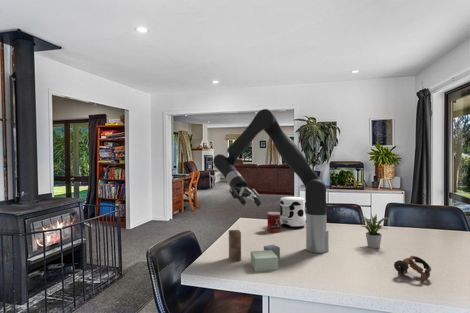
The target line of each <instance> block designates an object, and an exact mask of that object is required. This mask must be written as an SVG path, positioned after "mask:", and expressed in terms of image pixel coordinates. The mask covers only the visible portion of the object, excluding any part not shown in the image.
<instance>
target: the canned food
mask: <svg viewBox="0 0 470 313" xmlns="http://www.w3.org/2000/svg"><path fill="white" fill-rule="evenodd" d="M266 214H267V217H266V218H267V232H269V233H270V234H271V233H272V234H277V233H280V232H281V224H280V212H278V211H268V212H267V213H266Z"/></svg>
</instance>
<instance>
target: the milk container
mask: <svg viewBox="0 0 470 313" xmlns="http://www.w3.org/2000/svg"><path fill="white" fill-rule="evenodd" d="M279 207H280V208H279V210H280V212H279V213H280V226H282V227H286V228H290V229H291V228H294V229H295V228H303V227H304V226H306V202H305V197H300V196H283V197H280V204H279Z"/></svg>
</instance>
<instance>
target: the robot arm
mask: <svg viewBox="0 0 470 313" xmlns="http://www.w3.org/2000/svg"><path fill="white" fill-rule="evenodd" d="M261 131H264V132H265V133H266V134H267V136H268V137H270V139H271V141H272V143H273V145H274V147H275V149H276V151H277V152H278V154H279V156H280V157H281V158H282V160H283V162H284V163H285V165H287V166H288V167H289V168H290V169H291V171H293V172H294V173H295V174H296V175H297V176H298V178H299V179H300V180H301V182H302V184H303V186H304V187H305V189H304V193H305V194H304V199H305V215H306V224H305V226H306V227H305V228H306V229H305V232H306V233H305V236H306V240H305V242H306V243H305V244H306V245H305V246H306V247H305V248H306V251H308V252H310V253H315V254H323V253H326V252H329V242H330V241H329V240H330V239H329V230H328V229H327V186H326V185H327V184H325V183H324V181H323V180H322V179H321V178H320V177H319V176H318V175H317V174H316V172H315V171H314V170H313V169H312V168H311V166H310V164H309V163H308V160H307V159H306V157H305V155H304V154H303V153H302V151H301V150H300V148H299V147H298V145H297V144H296V143H295V142H294V140H292V139H291V138H290V136H289V134H287V133H286V132H285V131H284V130H283V128H282V127H281V125H280V123H279V122H278V120H277V118H276V115H275V114H274V113H273V111H272V110H270V109H268V108H263V109H260V110H258V112H257V114H255V116H254V118H253V119H252V120H251V122H250V123H249V125H248V126H247V127H246V128H245V130H243V131H242V133H240V135H239V136H238V137H237V138H236V139H235V140H234V142H232V143H231V144H230V145H229V146H228V148H227V149H226V150H227V151H226V152H227V154H228V157H227V156H225V155H224V154H221V153H220V154H216V155H214V158H213V159H212V160H213V165H214V167H215V168H216V169H217V171H219V172H220V173H221V175H222V176H223V177H224V179H225V180H226V182H227V185H228V186H229V187H230V188H229V190H228V192H229V193H230V195H231V196H232V198H233V199H234V200H235V199H237V201H239V202H240V204H241V205H242V206H245V205H246V203H247V201H246V199H245V198H247V199H248V200H252V201H253V202H254V204H255V205H256V206H257V207H260V206H261V204H262V203H261V202H262V201H261V200H260V198H261V196H260V194H259V192H257V191H256V189H255V188H252V189H250V188H249V187H248V182H247V181H246V180H245V178H244V177H243V176H242V175H241V173H240V172H238V170H237V168H236V167H235V166H234V164H235V163H236V162H237V161H238V159H239V158H238V157H240V156H241V155H242V154H243V153H244V152H245V150H246V149H247V148H248V147H249V145H250V144H251V143H252V142H253V140H254V139H255V137H256V136H257V135H259V133H261Z"/></svg>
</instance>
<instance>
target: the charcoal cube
mask: <svg viewBox="0 0 470 313" xmlns="http://www.w3.org/2000/svg"><path fill="white" fill-rule="evenodd" d="M264 250H272V251H273V252H274V253H275V255H276V256H277V257H278V260H280V259H281V247H279V246H277V245H276V244H269V245H263V251H264Z"/></svg>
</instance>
